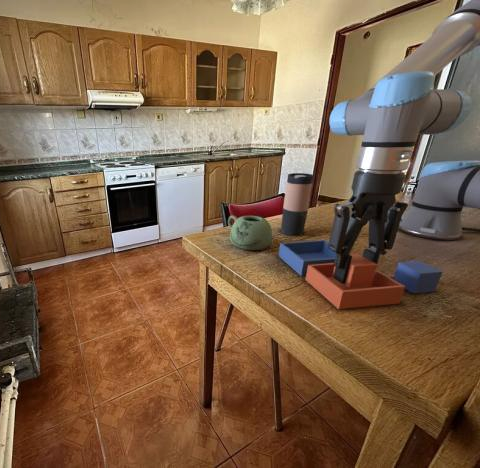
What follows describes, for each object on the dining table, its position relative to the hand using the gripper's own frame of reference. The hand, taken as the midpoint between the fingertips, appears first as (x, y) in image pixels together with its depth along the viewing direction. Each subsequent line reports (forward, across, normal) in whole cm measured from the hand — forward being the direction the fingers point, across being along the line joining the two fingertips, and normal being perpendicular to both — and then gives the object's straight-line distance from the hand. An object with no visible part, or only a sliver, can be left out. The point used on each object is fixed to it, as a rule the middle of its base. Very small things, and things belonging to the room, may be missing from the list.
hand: (351, 279), depth 56 cm
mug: (+3, -12, +30) cm, 32 cm away
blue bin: (+3, 0, +13) cm, 13 cm away
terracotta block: (0, 0, 0) cm, 0 cm away
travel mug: (+3, +7, +36) cm, 36 cm away
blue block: (+3, +15, 0) cm, 15 cm away
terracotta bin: (+3, 0, 0) cm, 3 cm away
